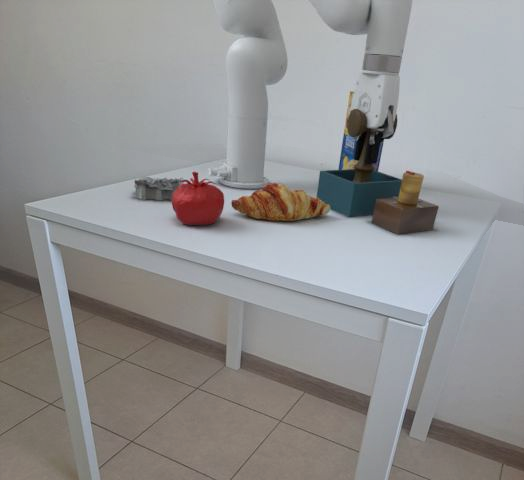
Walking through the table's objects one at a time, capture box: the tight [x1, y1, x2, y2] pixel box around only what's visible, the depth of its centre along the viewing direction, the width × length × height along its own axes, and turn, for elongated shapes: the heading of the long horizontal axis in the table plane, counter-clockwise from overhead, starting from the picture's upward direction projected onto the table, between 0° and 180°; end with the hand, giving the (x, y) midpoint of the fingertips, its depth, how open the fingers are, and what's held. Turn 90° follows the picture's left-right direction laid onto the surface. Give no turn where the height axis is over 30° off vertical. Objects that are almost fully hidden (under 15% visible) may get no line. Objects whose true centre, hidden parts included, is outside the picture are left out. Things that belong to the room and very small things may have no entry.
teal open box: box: [316, 169, 402, 218], centre depth 111 cm, size 15×13×7 cm
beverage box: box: [337, 91, 385, 172], centre depth 126 cm, size 7×11×22 cm, turn 11°
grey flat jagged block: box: [134, 176, 184, 201], centre depth 107 cm, size 11×8×4 cm
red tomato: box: [171, 171, 225, 226], centre depth 92 cm, size 10×10×9 cm
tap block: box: [371, 196, 440, 235], centre depth 101 cm, size 10×8×5 cm
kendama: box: [347, 109, 398, 183], centre depth 105 cm, size 6×10×20 cm, turn 110°
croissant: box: [230, 182, 331, 222], centre depth 100 cm, size 21×10×8 cm, turn 103°
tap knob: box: [398, 170, 425, 205], centre depth 98 cm, size 4×4×6 cm
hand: (365, 160), depth 107 cm, fingers closed on kendama, 2 cm apart
